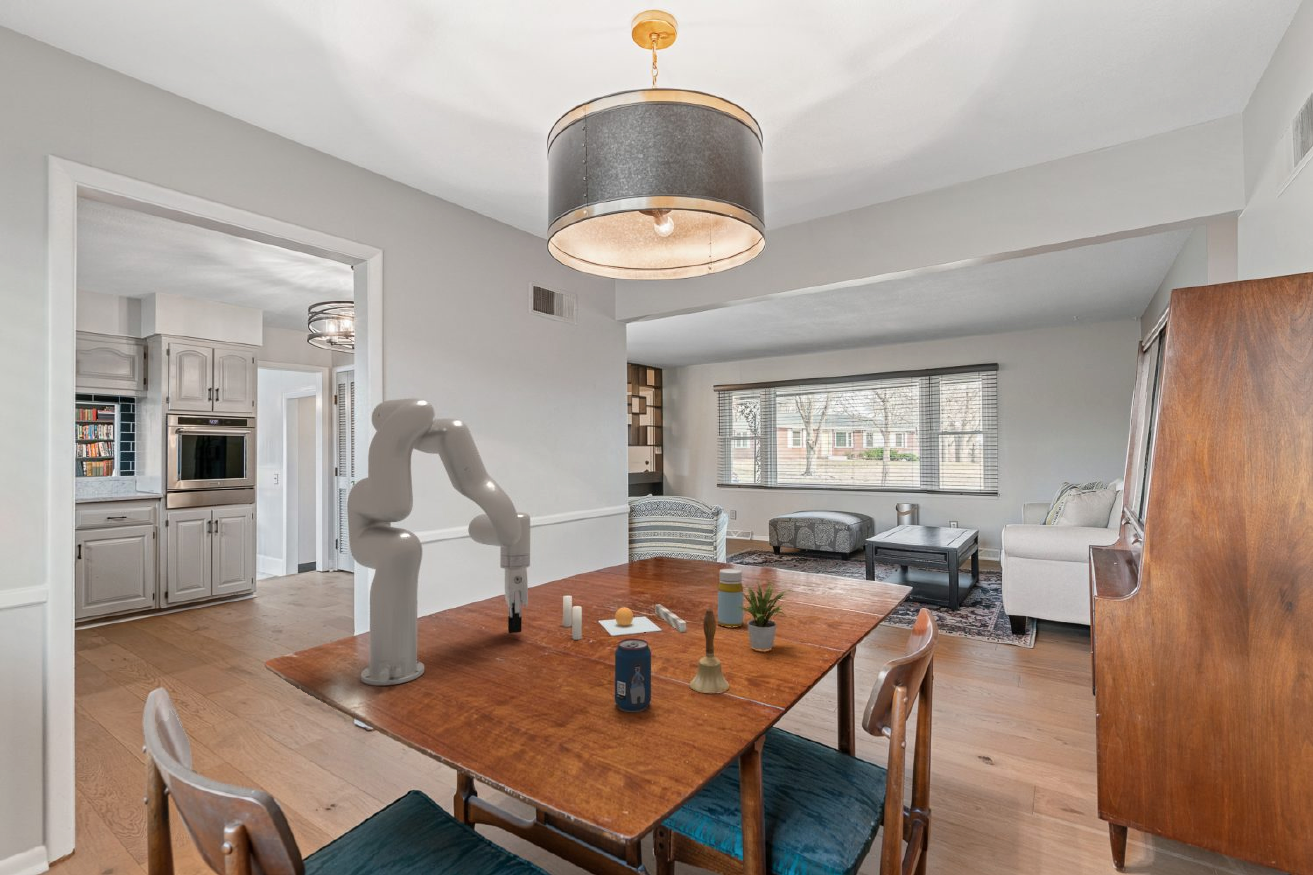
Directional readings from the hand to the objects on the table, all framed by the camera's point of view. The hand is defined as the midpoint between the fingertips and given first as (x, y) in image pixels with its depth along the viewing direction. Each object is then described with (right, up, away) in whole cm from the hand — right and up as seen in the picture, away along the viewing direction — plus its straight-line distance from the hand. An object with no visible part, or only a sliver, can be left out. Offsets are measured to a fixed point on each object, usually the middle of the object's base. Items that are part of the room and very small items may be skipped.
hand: (514, 631), depth 160 cm
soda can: (+32, -1, -42) cm, 53 cm away
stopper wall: (+40, -2, +15) cm, 43 cm away
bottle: (+57, -2, +12) cm, 59 cm away
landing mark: (+29, -2, +11) cm, 31 cm away
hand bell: (+48, -2, -32) cm, 57 cm away
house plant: (+63, -2, -9) cm, 64 cm away
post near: (+16, -2, 0) cm, 16 cm away
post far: (+12, -2, +11) cm, 16 cm away
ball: (+28, +1, +11) cm, 30 cm away
